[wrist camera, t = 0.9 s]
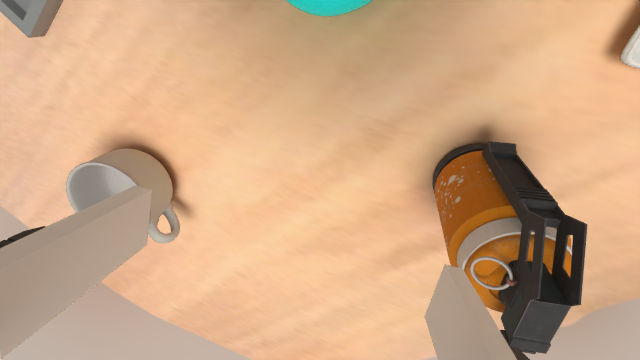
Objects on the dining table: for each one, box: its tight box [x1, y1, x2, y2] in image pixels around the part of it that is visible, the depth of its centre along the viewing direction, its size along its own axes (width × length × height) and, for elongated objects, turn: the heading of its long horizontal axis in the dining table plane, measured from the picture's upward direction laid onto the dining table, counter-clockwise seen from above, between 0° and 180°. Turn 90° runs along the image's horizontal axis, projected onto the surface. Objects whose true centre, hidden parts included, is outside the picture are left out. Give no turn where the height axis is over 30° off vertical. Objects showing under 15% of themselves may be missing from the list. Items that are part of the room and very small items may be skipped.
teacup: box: [66, 149, 180, 243], centre depth 43 cm, size 14×11×8 cm
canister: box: [433, 142, 587, 354], centre depth 29 cm, size 9×11×20 cm
